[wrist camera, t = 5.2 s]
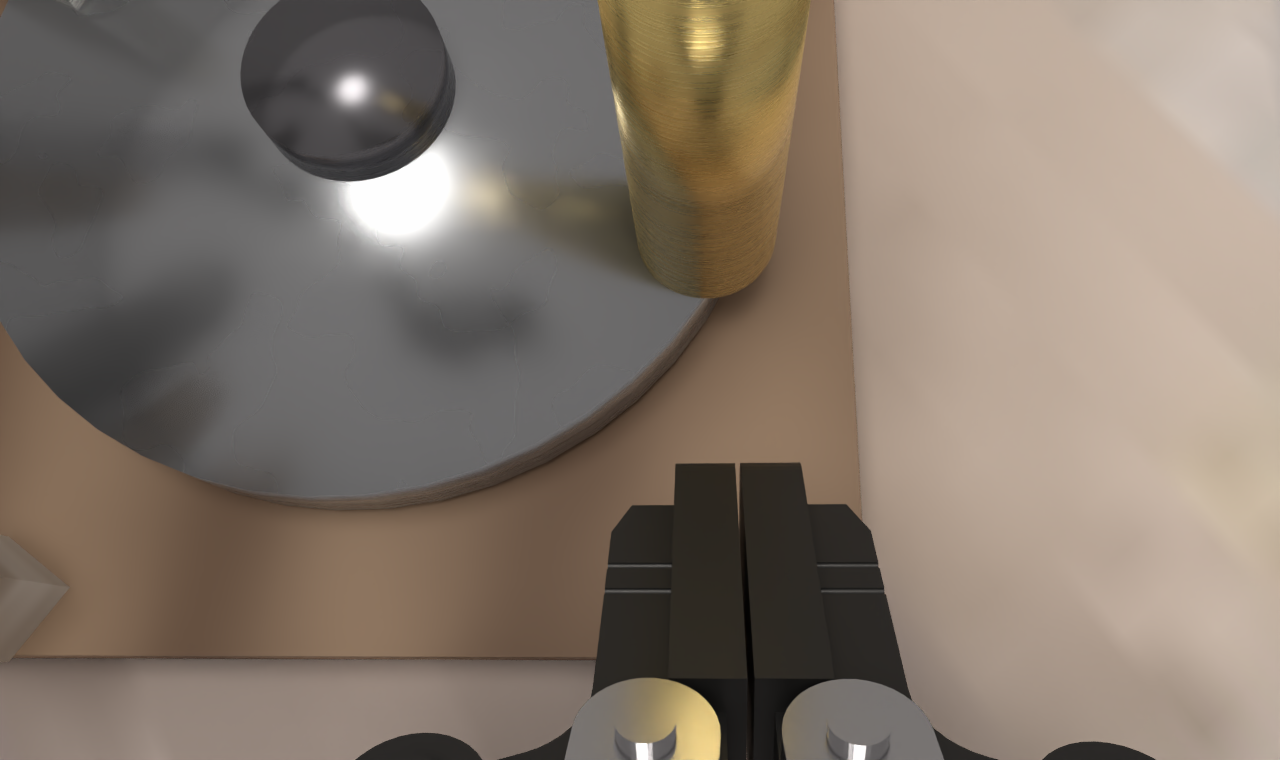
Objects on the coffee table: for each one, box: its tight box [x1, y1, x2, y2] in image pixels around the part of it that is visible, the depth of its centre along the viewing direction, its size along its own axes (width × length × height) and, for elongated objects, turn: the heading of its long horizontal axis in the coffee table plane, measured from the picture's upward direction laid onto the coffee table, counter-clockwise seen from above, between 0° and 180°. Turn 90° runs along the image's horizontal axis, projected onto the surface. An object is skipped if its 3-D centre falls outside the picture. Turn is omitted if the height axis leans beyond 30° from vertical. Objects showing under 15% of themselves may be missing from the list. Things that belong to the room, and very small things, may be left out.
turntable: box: [0, 0, 862, 662], centre depth 21 cm, size 22×20×5 cm
